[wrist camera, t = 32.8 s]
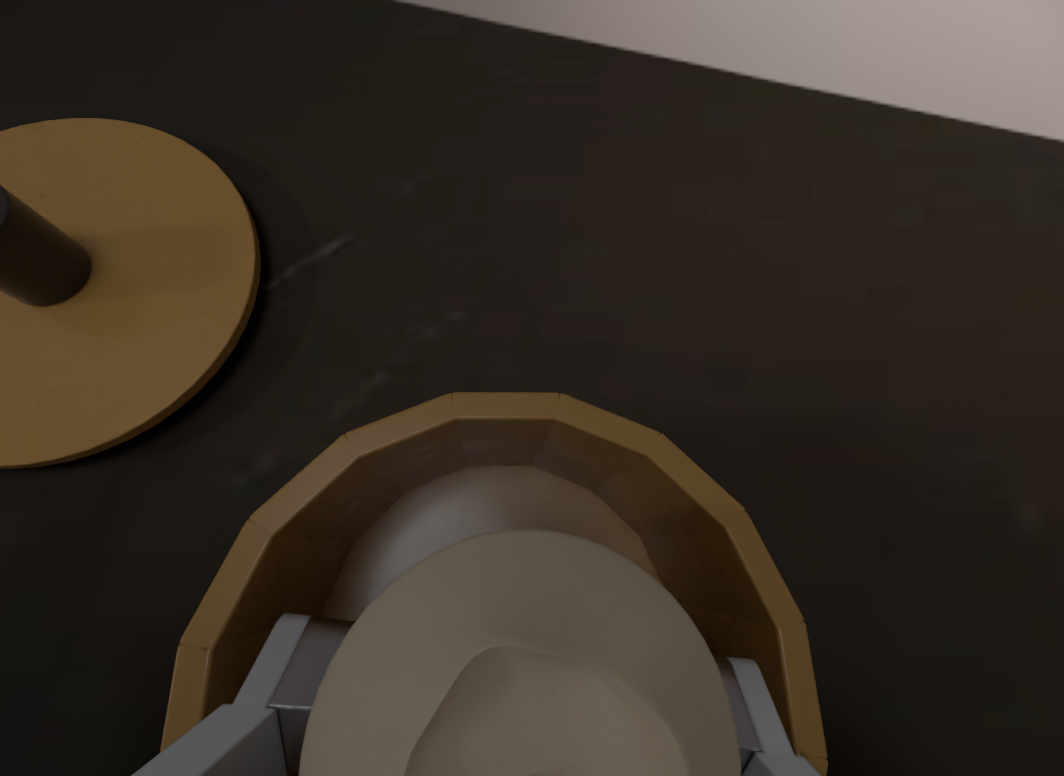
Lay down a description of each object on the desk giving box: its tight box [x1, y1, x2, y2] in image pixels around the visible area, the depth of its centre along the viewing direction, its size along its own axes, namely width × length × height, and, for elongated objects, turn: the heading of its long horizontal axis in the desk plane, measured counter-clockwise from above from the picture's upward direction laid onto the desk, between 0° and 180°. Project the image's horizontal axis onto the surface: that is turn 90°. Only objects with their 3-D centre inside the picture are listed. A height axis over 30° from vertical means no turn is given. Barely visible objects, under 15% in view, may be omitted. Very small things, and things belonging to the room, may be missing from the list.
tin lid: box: [0, 118, 261, 469], centre depth 15 cm, size 12×12×4 cm
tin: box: [160, 392, 828, 776], centre depth 12 cm, size 11×11×6 cm
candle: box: [299, 529, 741, 776], centre depth 10 cm, size 6×6×10 cm
